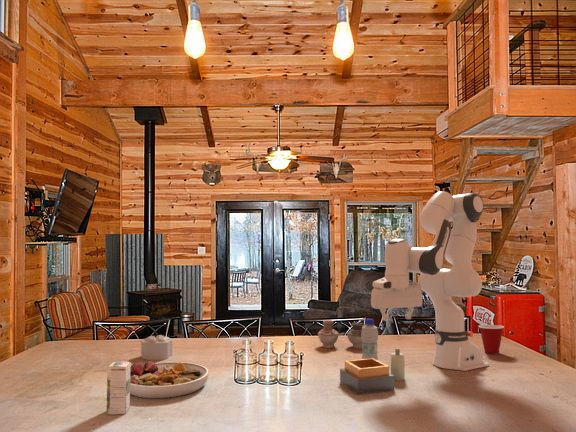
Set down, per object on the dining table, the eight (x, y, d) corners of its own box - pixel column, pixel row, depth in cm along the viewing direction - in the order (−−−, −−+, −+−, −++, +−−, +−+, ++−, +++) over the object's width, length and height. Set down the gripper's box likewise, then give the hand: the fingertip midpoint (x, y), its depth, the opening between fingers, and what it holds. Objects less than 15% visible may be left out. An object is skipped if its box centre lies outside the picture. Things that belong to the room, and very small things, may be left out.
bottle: (378, 372, 195) (377, 320, 196) (360, 371, 197) (360, 320, 197) (378, 367, 202) (378, 317, 202) (361, 366, 203) (361, 317, 204)
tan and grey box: (374, 378, 188) (374, 356, 188) (394, 390, 174) (394, 366, 175) (340, 382, 183) (340, 360, 183) (357, 394, 170) (357, 370, 170)
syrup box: (111, 408, 158) (111, 361, 158) (130, 407, 158) (130, 361, 159) (106, 415, 152) (106, 366, 153) (126, 414, 153) (126, 366, 153)
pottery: (317, 344, 244) (317, 319, 244) (369, 344, 242) (369, 319, 243) (317, 349, 232) (317, 323, 233) (372, 350, 231) (372, 323, 231)
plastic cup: (496, 349, 232) (495, 322, 232) (509, 354, 221) (509, 327, 222) (473, 349, 230) (473, 323, 231) (486, 355, 220) (486, 328, 220)
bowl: (222, 379, 189) (222, 358, 189) (180, 406, 160) (180, 381, 161) (153, 372, 199) (153, 351, 199) (102, 396, 170) (102, 372, 170)
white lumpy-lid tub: (165, 360, 215) (165, 339, 215) (136, 359, 217) (136, 339, 217) (174, 354, 225) (174, 334, 225) (146, 353, 227) (146, 333, 227)
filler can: (400, 376, 191) (399, 346, 191) (407, 380, 186) (407, 349, 186) (388, 377, 189) (388, 347, 189) (395, 381, 184) (395, 351, 184)
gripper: (416, 280, 194) (416, 316, 194) (368, 282, 188) (368, 319, 187) (425, 282, 189) (426, 319, 188) (377, 284, 182) (377, 322, 182)
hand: (397, 319), depth 188 cm, fingers open, 8 cm apart
